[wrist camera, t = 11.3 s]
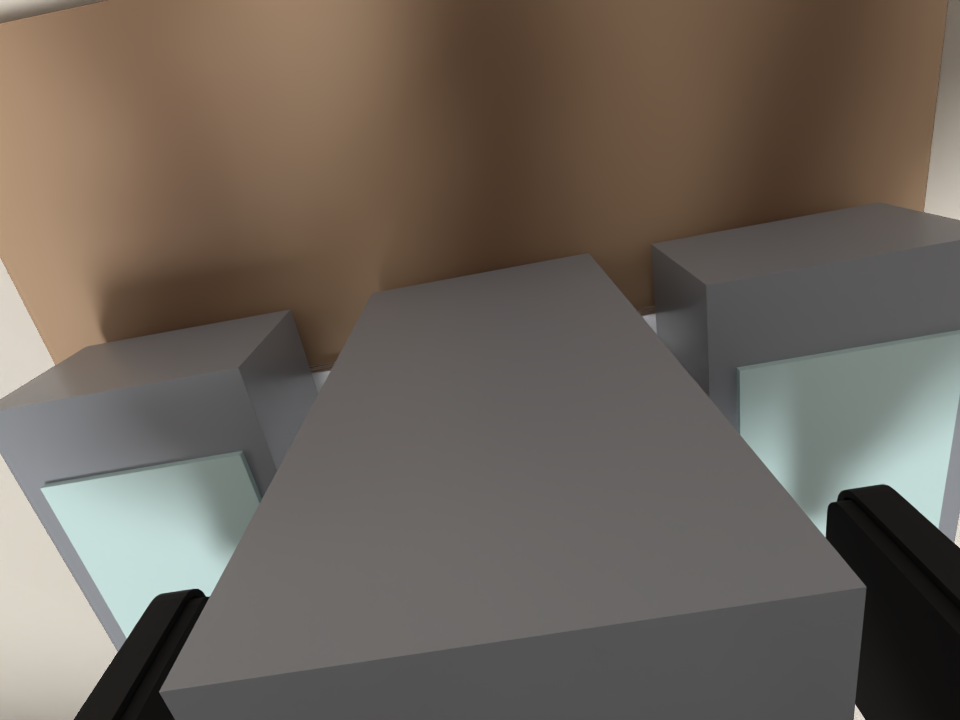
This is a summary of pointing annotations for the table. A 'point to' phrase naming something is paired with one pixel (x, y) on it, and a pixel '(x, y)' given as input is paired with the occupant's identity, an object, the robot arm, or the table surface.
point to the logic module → (521, 533)
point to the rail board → (458, 233)
